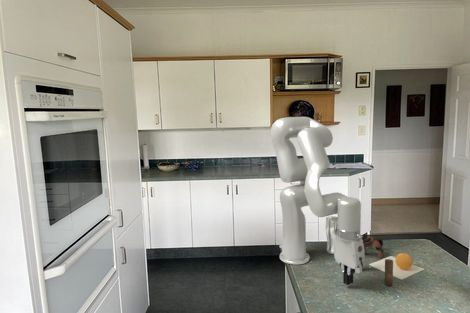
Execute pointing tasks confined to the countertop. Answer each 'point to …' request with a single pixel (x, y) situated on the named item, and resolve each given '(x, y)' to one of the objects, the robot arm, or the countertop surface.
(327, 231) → the beer glass
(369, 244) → the reddish brown arched figurine
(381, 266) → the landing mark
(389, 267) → the post right
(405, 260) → the ball
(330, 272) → the countertop surface
